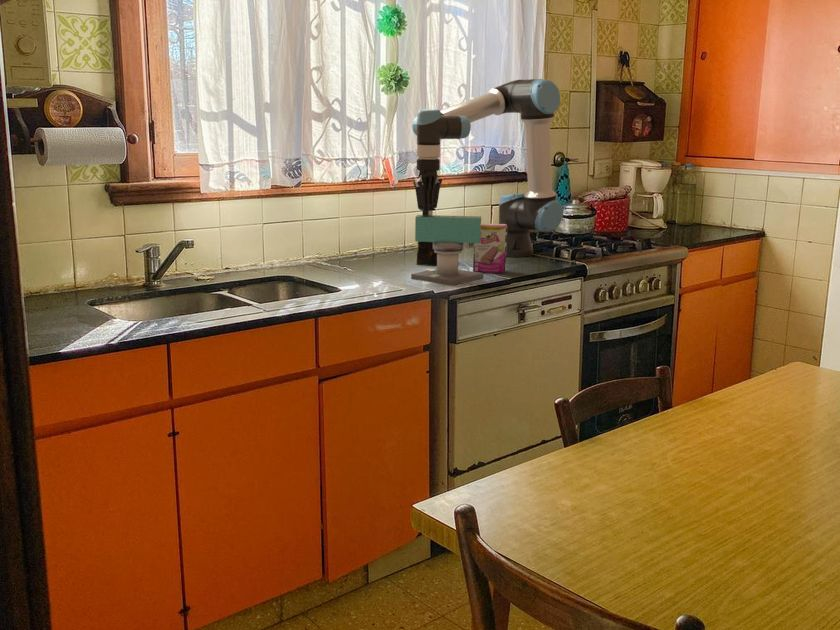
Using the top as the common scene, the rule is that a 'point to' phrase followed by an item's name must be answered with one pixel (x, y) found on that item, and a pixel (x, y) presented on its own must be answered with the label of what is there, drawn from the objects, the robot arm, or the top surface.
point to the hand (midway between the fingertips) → (427, 230)
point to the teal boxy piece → (448, 231)
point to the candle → (426, 254)
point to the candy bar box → (491, 249)
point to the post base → (448, 279)
